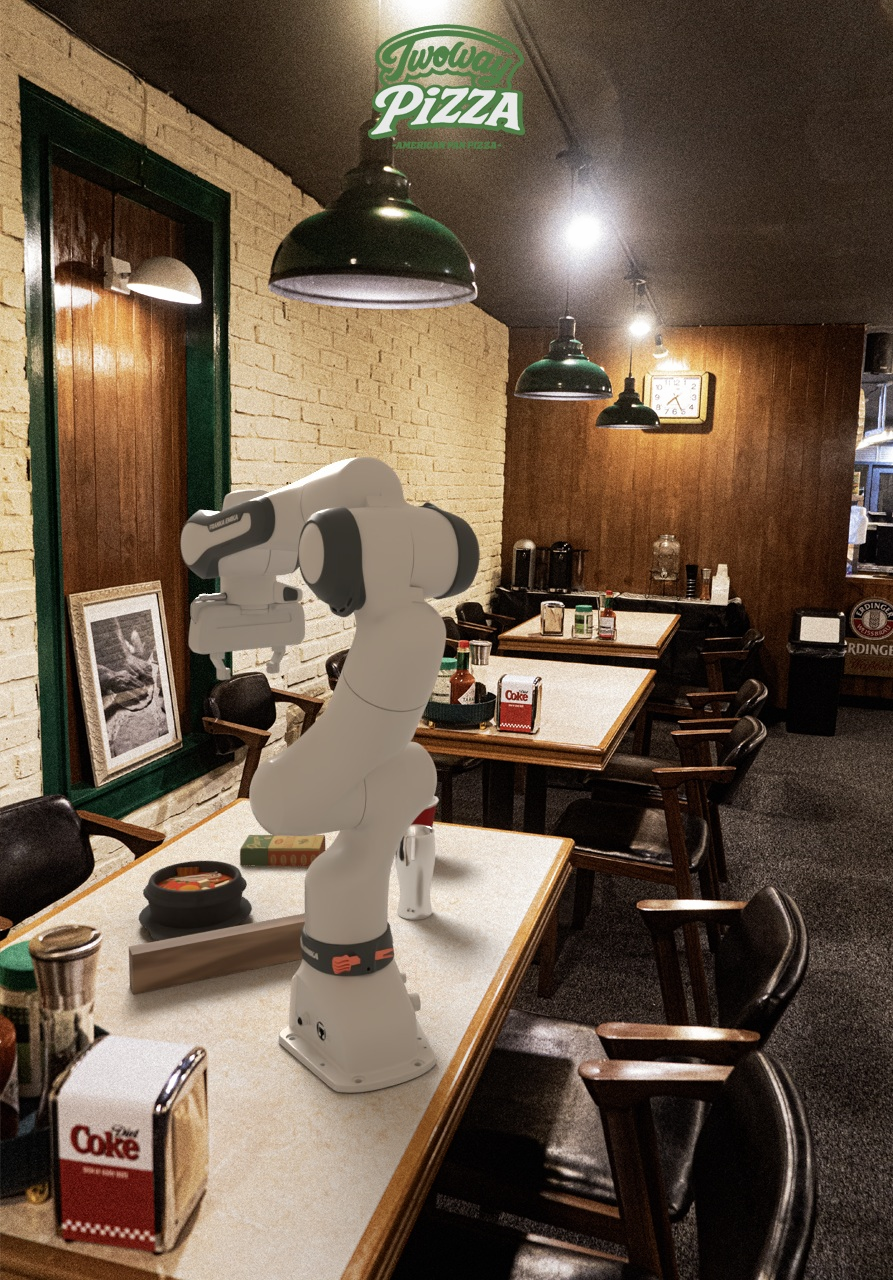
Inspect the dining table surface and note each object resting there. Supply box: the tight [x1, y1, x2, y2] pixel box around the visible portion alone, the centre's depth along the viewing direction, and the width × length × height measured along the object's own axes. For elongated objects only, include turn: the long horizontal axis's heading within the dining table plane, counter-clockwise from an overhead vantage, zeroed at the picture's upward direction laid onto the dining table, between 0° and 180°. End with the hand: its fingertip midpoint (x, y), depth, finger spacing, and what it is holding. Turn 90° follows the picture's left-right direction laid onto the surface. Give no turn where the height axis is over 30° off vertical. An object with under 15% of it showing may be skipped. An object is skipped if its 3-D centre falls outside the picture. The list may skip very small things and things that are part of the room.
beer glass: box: [394, 825, 436, 921], centre depth 167 cm, size 7×7×15 cm
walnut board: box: [128, 912, 305, 995], centre depth 145 cm, size 3×28×6 cm, turn 118°
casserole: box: [138, 860, 253, 942], centre depth 162 cm, size 25×19×8 cm
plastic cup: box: [411, 795, 440, 828], centre depth 195 cm, size 11×11×12 cm
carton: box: [239, 834, 326, 867], centre depth 193 cm, size 8×16×4 cm, turn 90°
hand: (248, 676), depth 156 cm, fingers open, 8 cm apart
